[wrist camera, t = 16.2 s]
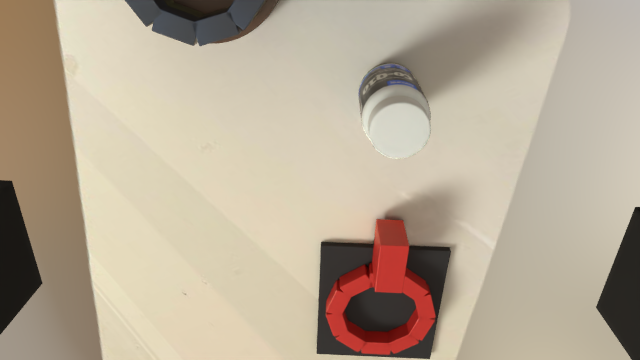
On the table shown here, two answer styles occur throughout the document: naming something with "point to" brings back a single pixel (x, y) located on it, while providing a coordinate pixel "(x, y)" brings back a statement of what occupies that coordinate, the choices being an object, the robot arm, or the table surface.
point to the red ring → (384, 277)
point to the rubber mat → (378, 296)
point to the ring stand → (202, 18)
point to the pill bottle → (394, 111)
